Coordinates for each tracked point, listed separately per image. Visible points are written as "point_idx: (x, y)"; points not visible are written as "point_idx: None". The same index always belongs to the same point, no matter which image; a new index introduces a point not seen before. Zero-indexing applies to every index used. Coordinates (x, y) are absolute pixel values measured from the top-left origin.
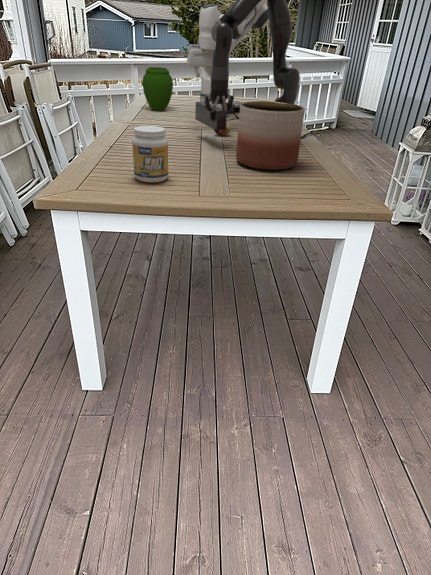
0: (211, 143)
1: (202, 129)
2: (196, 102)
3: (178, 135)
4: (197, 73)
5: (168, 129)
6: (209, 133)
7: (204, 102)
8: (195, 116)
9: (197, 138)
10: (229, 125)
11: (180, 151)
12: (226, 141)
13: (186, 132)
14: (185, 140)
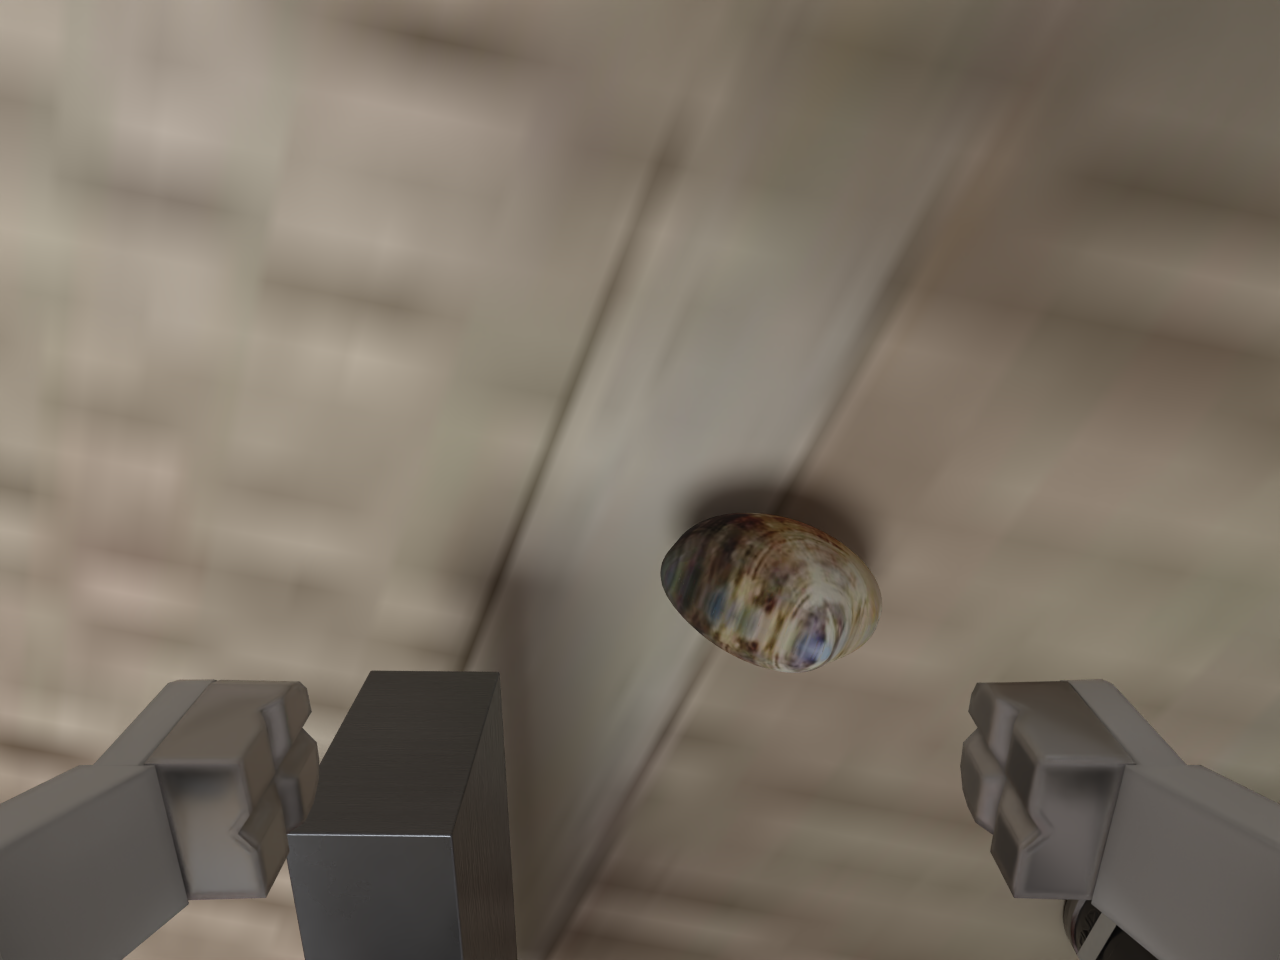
0: (513, 798)
1: (681, 147)
2: (288, 861)
3: (262, 430)
4: (150, 894)
5: (188, 44)
6: (673, 404)
7: (421, 900)
8: (357, 695)
9: (442, 602)
10: (852, 651)
11: (172, 952)
12: (690, 763)
13: (400, 291)
14: (292, 653)
